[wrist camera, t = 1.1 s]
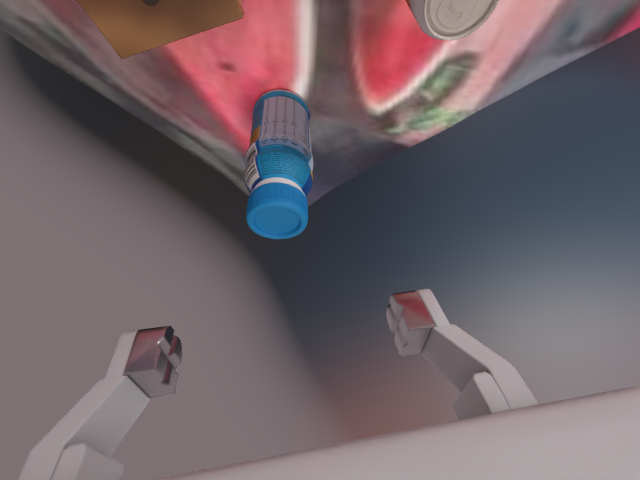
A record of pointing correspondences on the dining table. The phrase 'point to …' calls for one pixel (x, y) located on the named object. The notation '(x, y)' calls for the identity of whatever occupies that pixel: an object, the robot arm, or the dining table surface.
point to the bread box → (156, 20)
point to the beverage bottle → (279, 165)
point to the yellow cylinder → (451, 16)
